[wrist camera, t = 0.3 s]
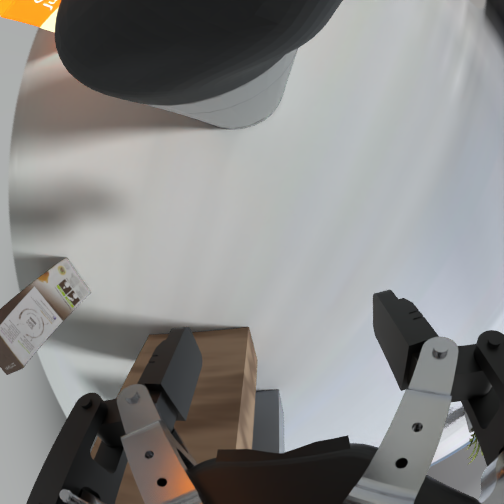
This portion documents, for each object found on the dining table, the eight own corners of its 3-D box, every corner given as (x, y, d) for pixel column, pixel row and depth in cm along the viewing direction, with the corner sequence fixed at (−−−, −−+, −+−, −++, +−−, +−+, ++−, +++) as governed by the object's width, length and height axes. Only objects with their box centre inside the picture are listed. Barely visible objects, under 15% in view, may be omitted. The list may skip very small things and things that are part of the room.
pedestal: (203, 393, 39) (178, 504, 20) (278, 389, 37) (278, 510, 19) (215, 416, 41) (198, 515, 23) (283, 413, 40) (284, 518, 21)
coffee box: (66, 254, 31) (-13, 318, 16) (92, 292, 33) (24, 368, 18) (41, 280, 33) (-23, 337, 18) (64, 312, 35) (7, 377, 20)
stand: (149, 334, 35) (55, 545, 5) (248, 327, 33) (217, 608, 3) (164, 365, 37) (96, 559, 7) (257, 360, 35) (239, 599, 6)
